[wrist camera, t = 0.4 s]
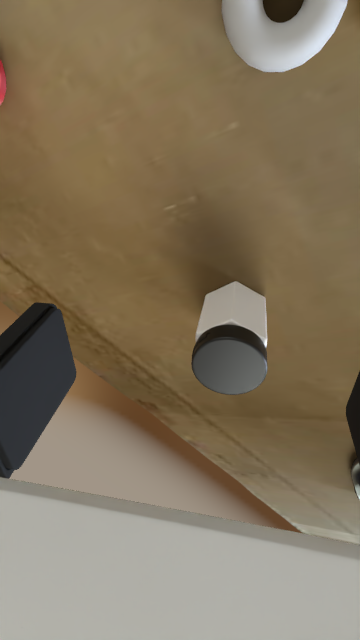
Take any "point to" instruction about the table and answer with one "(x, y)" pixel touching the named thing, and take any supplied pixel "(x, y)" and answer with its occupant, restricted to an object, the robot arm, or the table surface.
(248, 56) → the donut
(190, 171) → the table surface
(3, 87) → the liquor
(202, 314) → the jar
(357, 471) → the salad plate
